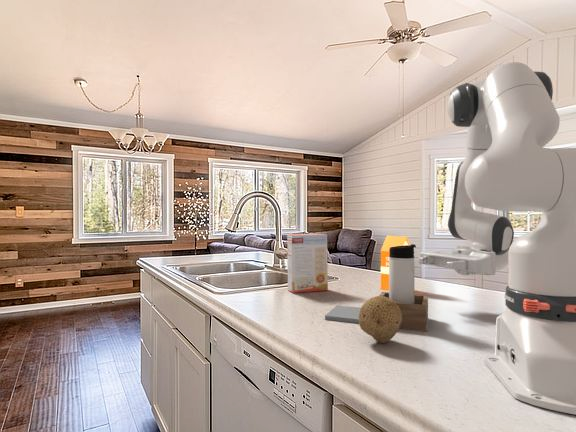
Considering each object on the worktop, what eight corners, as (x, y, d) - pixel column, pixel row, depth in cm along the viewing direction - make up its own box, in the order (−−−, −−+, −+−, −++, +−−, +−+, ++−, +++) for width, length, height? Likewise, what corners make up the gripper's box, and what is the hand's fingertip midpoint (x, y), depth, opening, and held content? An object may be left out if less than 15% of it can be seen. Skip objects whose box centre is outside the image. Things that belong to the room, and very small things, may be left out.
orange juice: (392, 286, 139) (392, 235, 139) (412, 290, 132) (412, 236, 132) (380, 289, 134) (380, 235, 134) (401, 292, 127) (401, 237, 127)
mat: (366, 324, 89) (366, 320, 89) (324, 319, 94) (324, 315, 94) (374, 312, 100) (374, 309, 100) (337, 308, 105) (337, 305, 105)
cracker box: (321, 287, 136) (321, 233, 136) (328, 291, 130) (328, 234, 130) (286, 290, 131) (286, 233, 132) (292, 293, 126) (292, 234, 126)
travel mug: (417, 326, 88) (417, 245, 88) (390, 324, 89) (390, 245, 90) (413, 319, 94) (413, 243, 94) (388, 317, 96) (388, 243, 96)
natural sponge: (380, 353, 70) (380, 303, 70) (349, 340, 78) (349, 294, 78) (410, 344, 75) (410, 297, 75) (379, 333, 83) (379, 290, 83)
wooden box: (426, 331, 84) (426, 306, 84) (374, 325, 89) (374, 301, 89) (427, 318, 95) (427, 295, 95) (382, 313, 100) (382, 291, 100)
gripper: (437, 246, 113) (405, 248, 107) (501, 252, 95) (467, 255, 89) (437, 265, 114) (405, 269, 107) (501, 275, 95) (467, 280, 89)
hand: (434, 263), depth 98 cm, fingers open, 8 cm apart
